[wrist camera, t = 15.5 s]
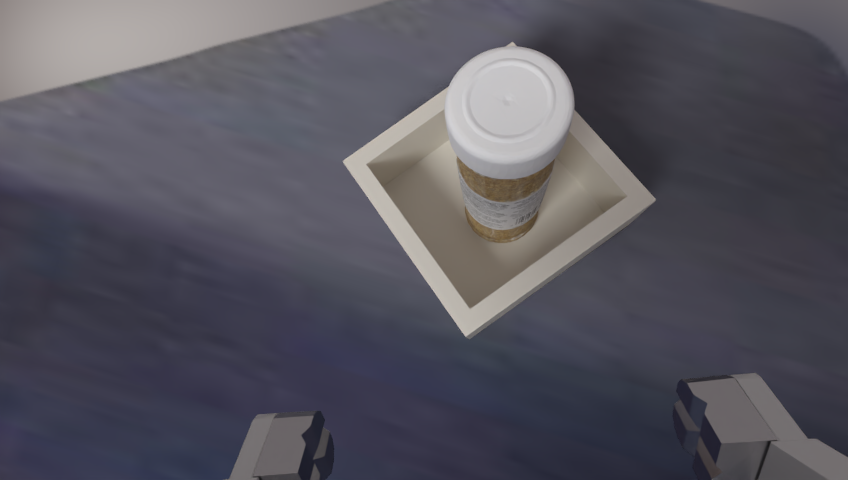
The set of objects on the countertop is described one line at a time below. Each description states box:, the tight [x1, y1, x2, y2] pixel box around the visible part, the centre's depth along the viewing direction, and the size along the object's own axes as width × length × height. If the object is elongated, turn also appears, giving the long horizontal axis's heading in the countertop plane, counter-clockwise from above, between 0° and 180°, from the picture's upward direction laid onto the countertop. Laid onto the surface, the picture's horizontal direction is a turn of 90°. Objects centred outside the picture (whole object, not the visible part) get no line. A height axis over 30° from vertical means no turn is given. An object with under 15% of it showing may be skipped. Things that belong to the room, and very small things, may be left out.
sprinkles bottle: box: [444, 46, 575, 243], centre depth 23 cm, size 5×5×14 cm
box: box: [343, 42, 656, 339], centre depth 28 cm, size 12×12×5 cm
